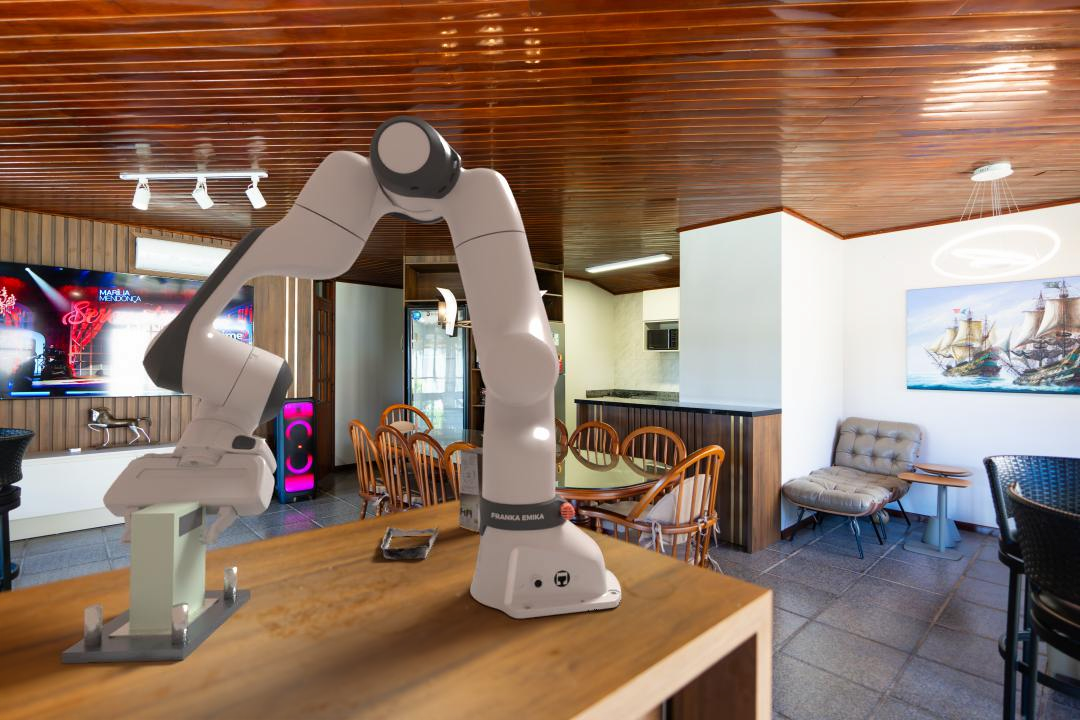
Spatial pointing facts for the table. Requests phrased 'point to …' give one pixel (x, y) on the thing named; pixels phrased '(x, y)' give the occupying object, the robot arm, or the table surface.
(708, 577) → the table surface
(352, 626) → the table surface
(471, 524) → the coffee box
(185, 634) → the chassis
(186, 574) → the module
